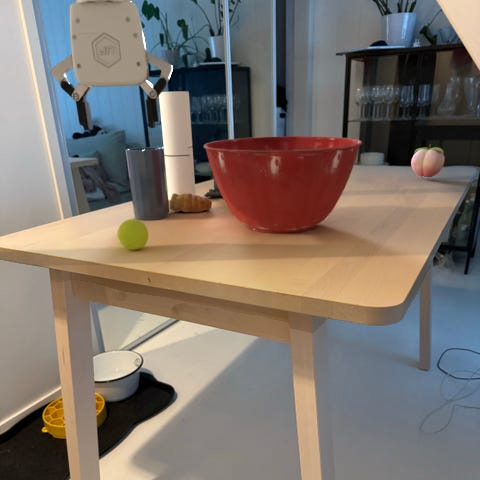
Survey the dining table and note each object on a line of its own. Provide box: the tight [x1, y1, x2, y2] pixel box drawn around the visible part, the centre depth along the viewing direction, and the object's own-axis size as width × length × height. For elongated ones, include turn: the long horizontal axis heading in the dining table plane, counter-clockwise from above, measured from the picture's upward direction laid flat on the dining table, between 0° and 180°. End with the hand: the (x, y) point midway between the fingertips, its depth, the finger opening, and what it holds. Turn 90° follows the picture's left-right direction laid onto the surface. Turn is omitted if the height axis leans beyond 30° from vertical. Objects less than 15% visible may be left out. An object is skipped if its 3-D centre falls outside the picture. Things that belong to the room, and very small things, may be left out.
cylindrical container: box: [158, 90, 197, 201], centre depth 115 cm, size 7×7×25 cm
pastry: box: [169, 193, 213, 213], centre depth 105 cm, size 9×7×4 cm
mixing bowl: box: [203, 135, 363, 234], centre depth 87 cm, size 28×28×16 cm
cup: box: [125, 146, 171, 221], centre depth 98 cm, size 8×8×14 cm
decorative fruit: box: [410, 143, 446, 178], centre depth 136 cm, size 9×8×10 cm
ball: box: [117, 218, 149, 251], centre depth 76 cm, size 5×5×5 cm
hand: (120, 128), depth 70 cm, fingers open, 9 cm apart
